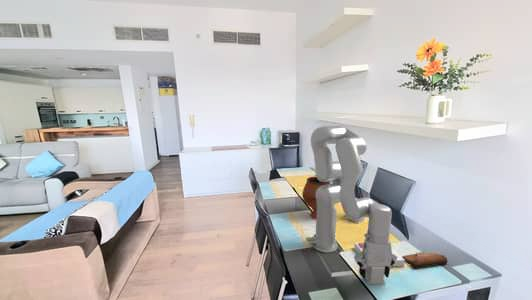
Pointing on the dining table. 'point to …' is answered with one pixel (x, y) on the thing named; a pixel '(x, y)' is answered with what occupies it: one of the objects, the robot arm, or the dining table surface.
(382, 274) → the plug
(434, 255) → the sunglasses case
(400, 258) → the socket plate
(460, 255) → the dining table surface
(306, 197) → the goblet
